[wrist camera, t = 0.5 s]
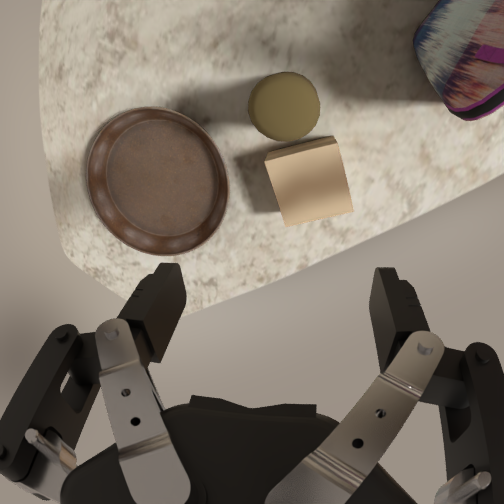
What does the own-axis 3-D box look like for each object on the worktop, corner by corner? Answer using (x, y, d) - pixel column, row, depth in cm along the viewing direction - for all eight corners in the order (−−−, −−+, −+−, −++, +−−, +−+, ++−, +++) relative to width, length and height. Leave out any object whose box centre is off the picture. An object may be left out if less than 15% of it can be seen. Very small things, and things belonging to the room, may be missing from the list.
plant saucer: (196, 77, 29) (187, 77, 27) (258, 221, 37) (254, 233, 34) (79, 144, 35) (64, 150, 32) (138, 258, 42) (129, 270, 40)
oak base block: (268, 152, 32) (264, 161, 29) (333, 135, 30) (337, 143, 27) (287, 211, 35) (285, 227, 32) (348, 197, 33) (353, 211, 30)
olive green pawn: (287, 140, 31) (281, 168, 22) (245, 99, 30) (220, 108, 20) (330, 102, 29) (346, 113, 19) (288, 59, 27) (283, 49, 18)
